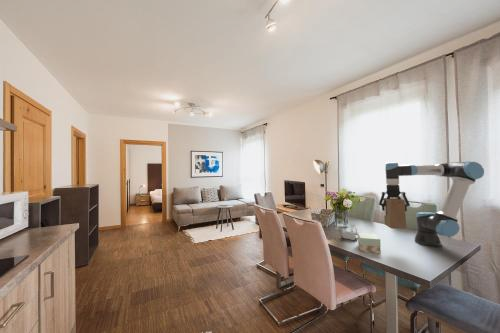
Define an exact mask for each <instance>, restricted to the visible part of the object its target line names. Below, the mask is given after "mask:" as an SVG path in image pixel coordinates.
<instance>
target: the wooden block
mask: <svg viewBox="0 0 500 333" xmlns="http://www.w3.org/2000/svg"><path fill="white" fill-rule="evenodd" d="M386 198H387V197H384V199H383V202H384V201H385V200H386V204H385V206H386V216H385V215H384V214H383V215H384V217H383V219H384V225H385V226H387V227H389V228H390V229H401V230H402V229H407V215H406V211H405V204H406V202H405V200H404V198H403V199H402V198H401V199H398V198H390V199H386ZM383 202H382V203H383Z"/></svg>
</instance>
